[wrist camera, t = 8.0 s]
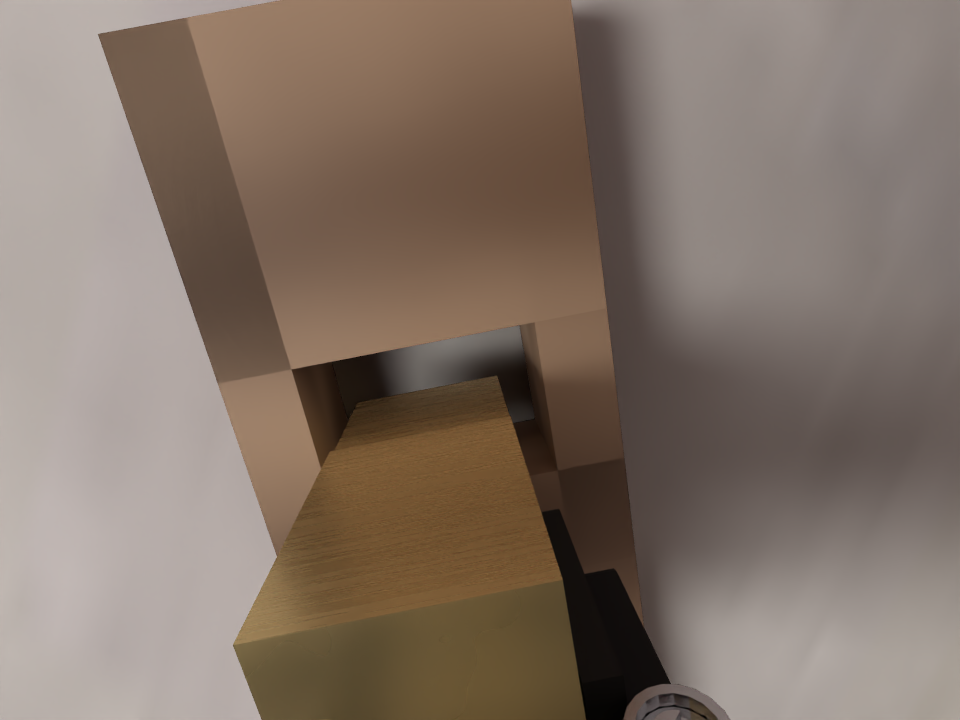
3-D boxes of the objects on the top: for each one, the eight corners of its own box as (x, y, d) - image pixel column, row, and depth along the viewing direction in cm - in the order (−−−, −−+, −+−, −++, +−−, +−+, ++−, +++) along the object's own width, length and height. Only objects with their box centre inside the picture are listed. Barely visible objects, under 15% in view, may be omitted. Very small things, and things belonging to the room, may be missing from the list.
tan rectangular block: (356, 398, 11) (233, 644, 5) (496, 370, 11) (562, 579, 5) (434, 692, 13) (421, 1134, 7) (550, 668, 13) (647, 1086, 7)
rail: (183, 78, 12) (98, 34, 9) (535, 12, 12) (564, -53, 9) (402, 786, 18) (394, 897, 15) (632, 739, 18) (668, 840, 15)
